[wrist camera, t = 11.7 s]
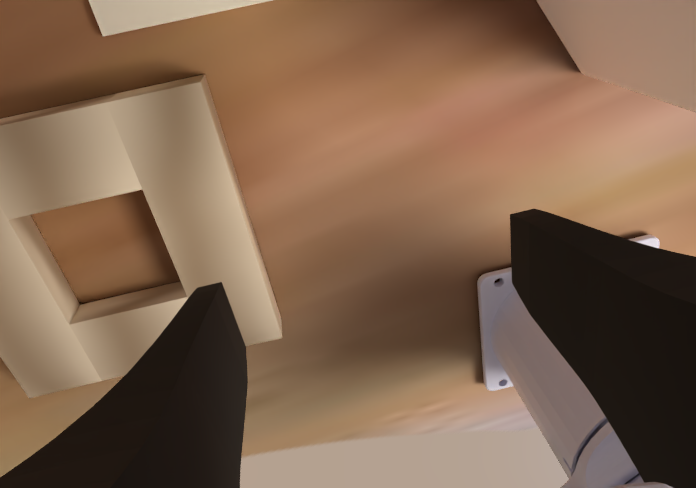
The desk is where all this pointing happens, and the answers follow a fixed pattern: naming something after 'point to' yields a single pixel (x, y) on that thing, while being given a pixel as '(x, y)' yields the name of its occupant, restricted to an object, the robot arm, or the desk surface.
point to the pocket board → (110, 180)
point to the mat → (155, 12)
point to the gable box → (632, 44)
